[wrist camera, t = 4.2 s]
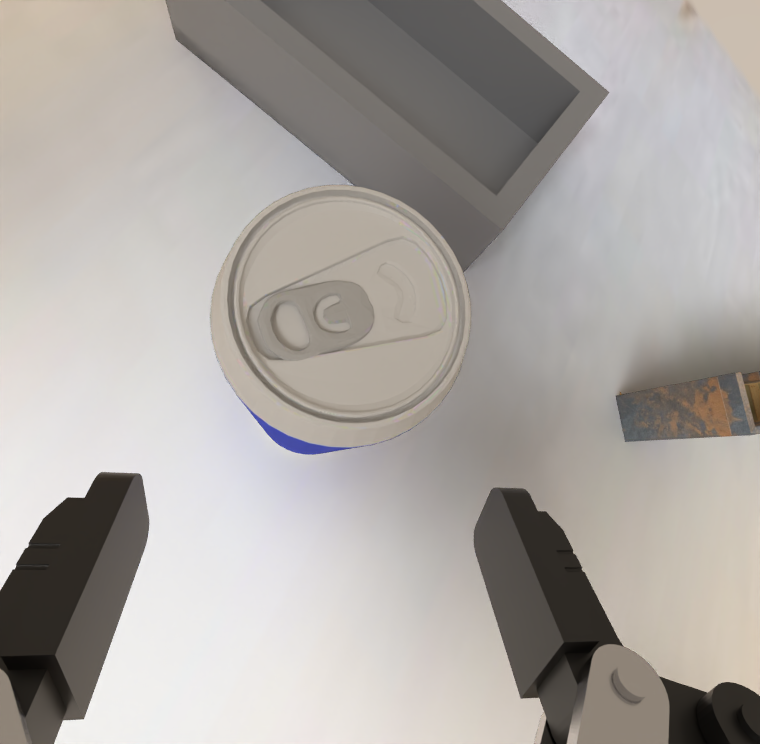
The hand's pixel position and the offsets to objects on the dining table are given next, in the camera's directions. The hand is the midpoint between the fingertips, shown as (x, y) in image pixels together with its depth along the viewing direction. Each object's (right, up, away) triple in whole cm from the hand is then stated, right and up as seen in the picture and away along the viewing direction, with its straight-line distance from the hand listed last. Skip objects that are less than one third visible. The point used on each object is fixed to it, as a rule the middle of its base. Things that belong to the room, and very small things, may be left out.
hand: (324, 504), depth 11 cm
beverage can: (-2, +2, +12) cm, 12 cm away
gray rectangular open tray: (+1, +19, +16) cm, 25 cm away
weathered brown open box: (+20, +1, +17) cm, 26 cm away
